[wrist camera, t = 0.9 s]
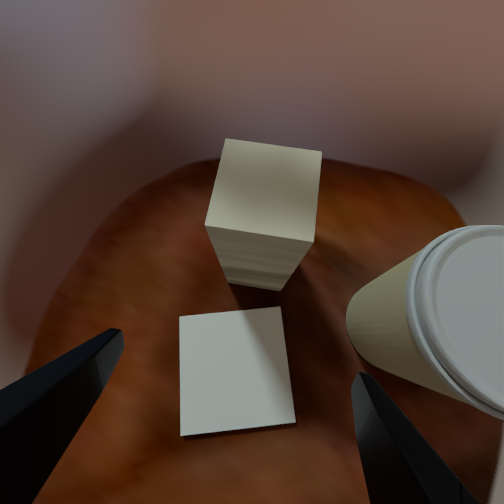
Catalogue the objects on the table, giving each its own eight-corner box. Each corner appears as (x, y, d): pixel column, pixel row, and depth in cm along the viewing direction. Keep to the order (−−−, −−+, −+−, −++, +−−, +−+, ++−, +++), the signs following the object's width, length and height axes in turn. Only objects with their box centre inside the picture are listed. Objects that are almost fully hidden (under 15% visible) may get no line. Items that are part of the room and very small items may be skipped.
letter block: (282, 291, 24) (317, 242, 11) (227, 282, 24) (204, 225, 12) (288, 242, 25) (325, 152, 13) (237, 234, 25) (225, 138, 13)
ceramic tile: (294, 420, 20) (295, 422, 20) (182, 433, 20) (180, 436, 20) (279, 307, 23) (280, 306, 23) (181, 317, 23) (179, 316, 22)
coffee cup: (459, 366, 22) (690, 400, 10) (357, 395, 21) (484, 464, 10) (413, 264, 25) (555, 202, 13) (322, 286, 24) (387, 240, 12)
